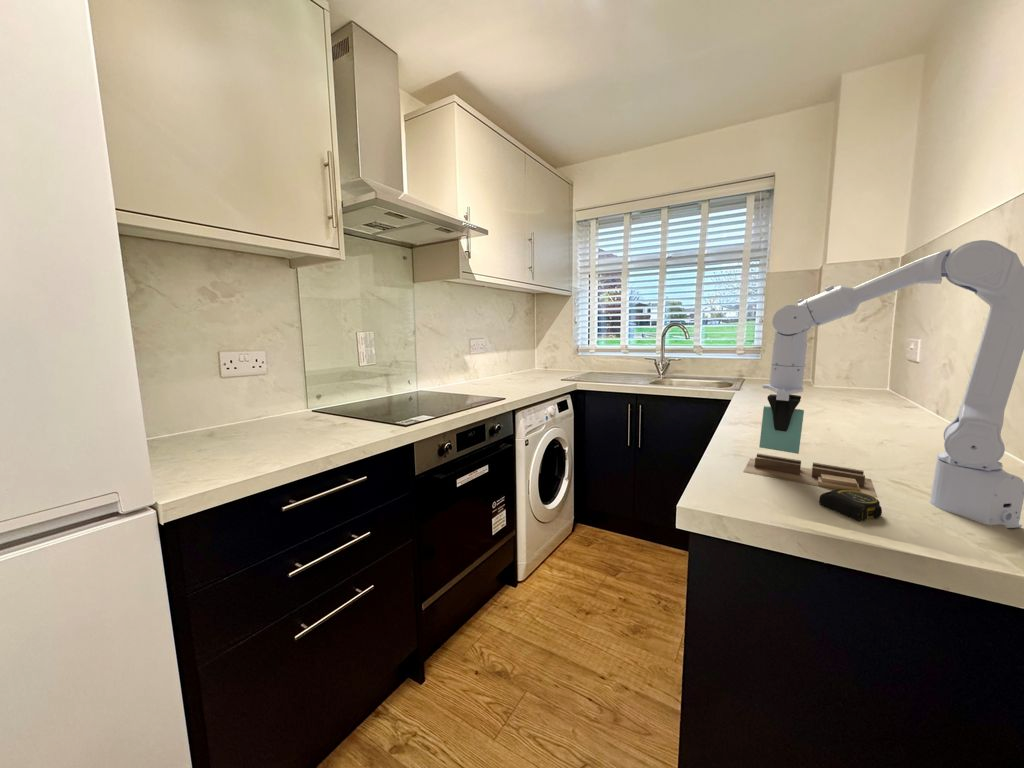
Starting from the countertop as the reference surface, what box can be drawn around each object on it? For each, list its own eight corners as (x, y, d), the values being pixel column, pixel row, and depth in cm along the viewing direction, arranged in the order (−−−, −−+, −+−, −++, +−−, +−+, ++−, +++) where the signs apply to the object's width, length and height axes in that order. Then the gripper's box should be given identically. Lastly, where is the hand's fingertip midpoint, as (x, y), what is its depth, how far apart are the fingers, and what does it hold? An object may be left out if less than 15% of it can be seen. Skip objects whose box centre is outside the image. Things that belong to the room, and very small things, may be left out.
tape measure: (815, 510, 70) (817, 489, 70) (847, 506, 72) (849, 485, 71) (856, 529, 64) (859, 506, 63) (890, 524, 65) (893, 502, 65)
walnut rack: (876, 502, 73) (878, 486, 72) (742, 476, 85) (744, 462, 85) (870, 483, 82) (872, 469, 81) (749, 462, 94) (750, 449, 94)
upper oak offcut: (857, 487, 75) (857, 483, 75) (821, 481, 78) (822, 477, 78) (854, 483, 77) (855, 479, 77) (820, 477, 80) (820, 473, 80)
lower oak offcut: (858, 493, 75) (859, 488, 74) (818, 485, 78) (818, 481, 78) (857, 487, 77) (858, 483, 77) (817, 480, 81) (818, 476, 80)
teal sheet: (798, 453, 84) (803, 411, 83) (759, 447, 88) (763, 406, 87) (798, 452, 85) (804, 409, 84) (760, 445, 89) (764, 405, 88)
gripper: (768, 361, 92) (762, 420, 94) (761, 366, 81) (754, 433, 83) (806, 363, 88) (799, 425, 90) (805, 369, 77) (797, 439, 79)
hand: (780, 429), depth 86 cm, fingers closed on teal sheet, 1 cm apart
